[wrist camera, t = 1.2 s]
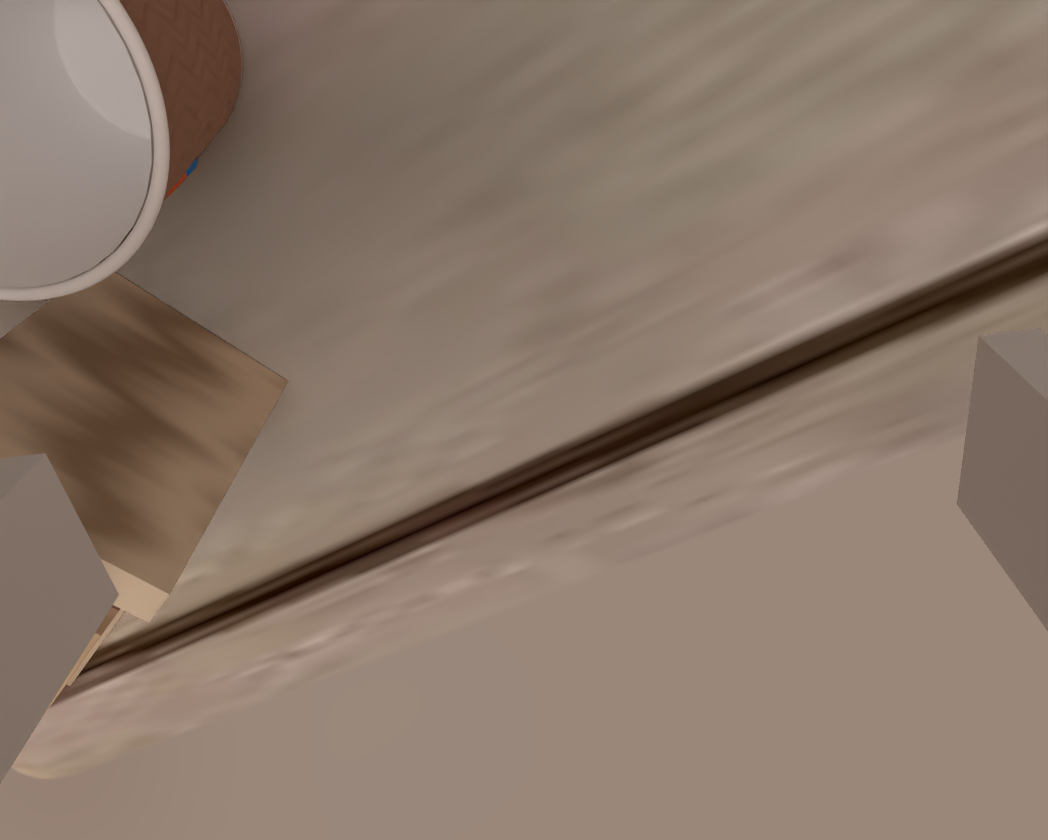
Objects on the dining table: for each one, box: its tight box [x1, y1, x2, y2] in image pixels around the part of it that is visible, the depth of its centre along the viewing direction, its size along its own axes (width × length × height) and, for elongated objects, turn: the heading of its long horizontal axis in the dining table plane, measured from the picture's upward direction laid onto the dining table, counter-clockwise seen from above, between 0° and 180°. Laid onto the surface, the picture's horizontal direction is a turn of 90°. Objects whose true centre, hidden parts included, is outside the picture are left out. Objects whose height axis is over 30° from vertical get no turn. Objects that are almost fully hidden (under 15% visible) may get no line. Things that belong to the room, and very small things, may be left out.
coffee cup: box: [0, 0, 242, 301], centre depth 26 cm, size 10×10×12 cm
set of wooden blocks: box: [0, 272, 288, 714], centre depth 35 cm, size 9×23×14 cm, turn 142°
